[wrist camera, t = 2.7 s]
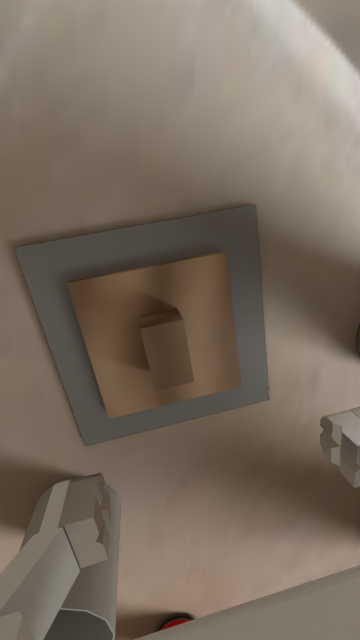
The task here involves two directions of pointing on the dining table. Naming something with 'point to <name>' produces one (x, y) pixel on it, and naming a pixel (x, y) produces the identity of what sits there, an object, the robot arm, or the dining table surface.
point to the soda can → (175, 622)
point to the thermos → (358, 340)
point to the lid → (159, 332)
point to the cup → (86, 584)
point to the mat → (133, 252)
